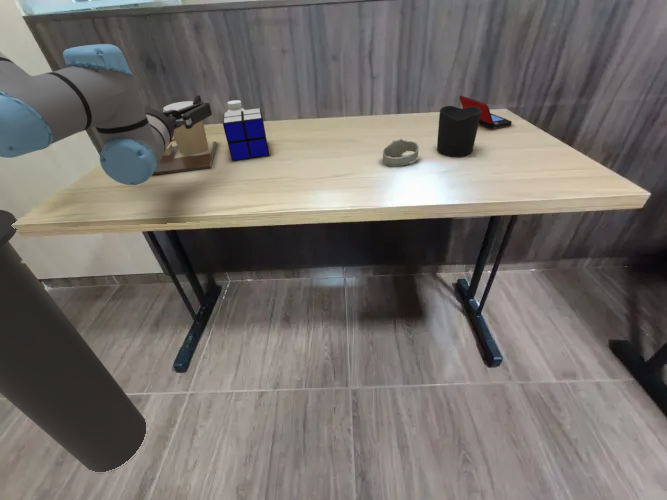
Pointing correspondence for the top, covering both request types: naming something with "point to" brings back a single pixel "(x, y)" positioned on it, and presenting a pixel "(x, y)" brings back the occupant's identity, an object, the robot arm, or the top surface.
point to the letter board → (185, 160)
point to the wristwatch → (400, 153)
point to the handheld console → (485, 114)
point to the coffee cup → (189, 133)
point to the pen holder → (457, 130)
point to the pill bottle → (234, 106)
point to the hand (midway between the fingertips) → (170, 104)
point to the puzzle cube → (245, 134)
